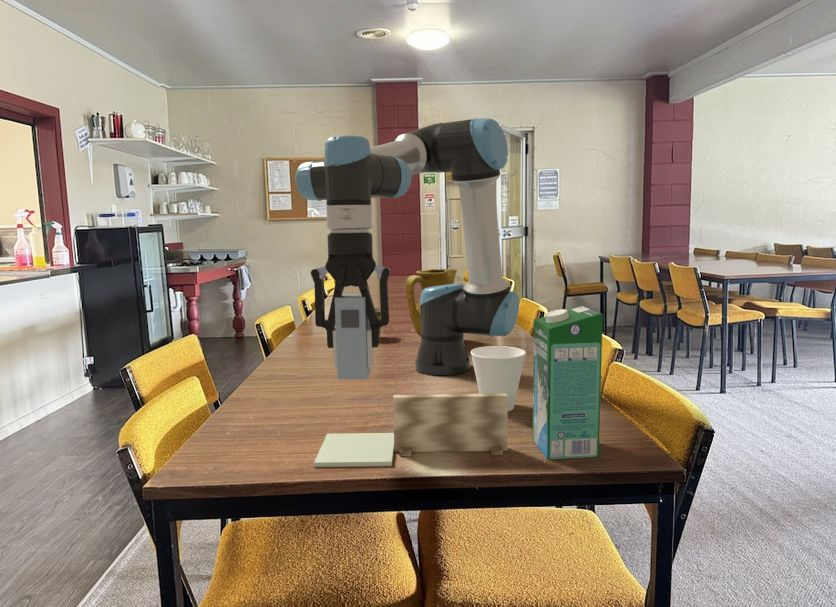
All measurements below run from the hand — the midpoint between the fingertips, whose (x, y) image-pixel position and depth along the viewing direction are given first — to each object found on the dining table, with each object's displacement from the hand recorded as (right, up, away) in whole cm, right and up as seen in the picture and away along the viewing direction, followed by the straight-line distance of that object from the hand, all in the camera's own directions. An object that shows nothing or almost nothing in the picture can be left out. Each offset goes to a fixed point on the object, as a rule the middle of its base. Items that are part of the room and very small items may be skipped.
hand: (354, 365), depth 99 cm
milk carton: (+37, -15, +2) cm, 40 cm away
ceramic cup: (-7, -2, +101) cm, 101 cm away
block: (0, -2, 0) cm, 2 cm away
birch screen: (+17, -15, +2) cm, 23 cm away
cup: (+29, -12, +25) cm, 40 cm away
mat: (0, -16, +2) cm, 16 cm away
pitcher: (+17, -3, +90) cm, 92 cm away
